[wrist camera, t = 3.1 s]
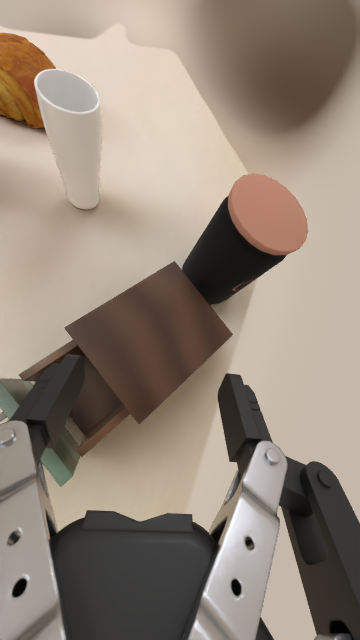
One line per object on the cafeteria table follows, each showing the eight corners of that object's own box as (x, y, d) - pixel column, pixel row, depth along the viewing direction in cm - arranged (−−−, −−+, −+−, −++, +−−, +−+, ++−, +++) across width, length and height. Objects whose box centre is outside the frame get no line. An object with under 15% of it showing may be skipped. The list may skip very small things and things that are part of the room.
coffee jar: (214, 317, 39) (292, 270, 22) (168, 282, 38) (214, 205, 21) (238, 278, 43) (318, 215, 26) (197, 246, 42) (254, 158, 25)
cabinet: (130, 411, 30) (139, 424, 21) (77, 343, 30) (64, 327, 21) (203, 345, 36) (233, 334, 28) (159, 289, 37) (174, 260, 28)
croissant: (-33, 101, 37) (-77, 33, 30) (35, 64, 41) (12, -4, 34) (33, 154, 38) (6, 102, 30) (93, 112, 42) (83, 57, 34)
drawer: (39, 489, 24) (9, 534, 17) (-20, 410, 24) (-74, 423, 17) (162, 379, 32) (177, 378, 25) (116, 320, 32) (118, 303, 25)
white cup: (107, 214, 37) (106, 118, 24) (66, 215, 35) (38, 108, 21) (99, 183, 39) (94, 75, 25) (58, 182, 36) (27, 60, 22)
